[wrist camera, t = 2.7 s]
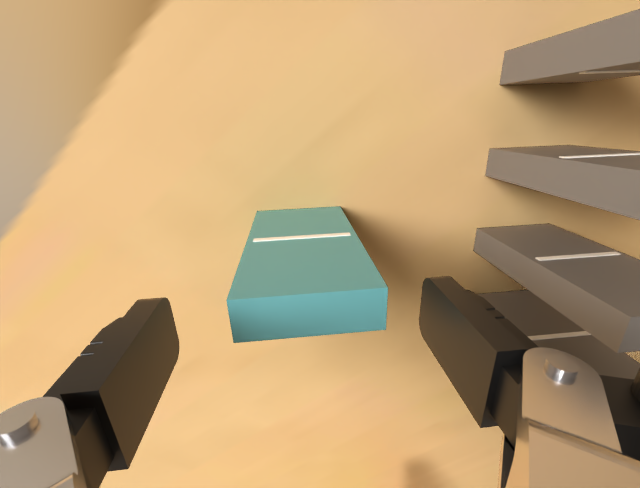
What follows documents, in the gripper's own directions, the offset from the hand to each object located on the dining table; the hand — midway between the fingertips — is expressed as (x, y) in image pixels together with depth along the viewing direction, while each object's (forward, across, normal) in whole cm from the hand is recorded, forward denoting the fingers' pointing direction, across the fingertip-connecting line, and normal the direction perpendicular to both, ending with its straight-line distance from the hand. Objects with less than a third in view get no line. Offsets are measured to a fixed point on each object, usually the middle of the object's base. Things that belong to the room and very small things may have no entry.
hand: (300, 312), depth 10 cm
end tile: (+10, 0, 0) cm, 10 cm away
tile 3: (+10, -14, +2) cm, 18 cm away
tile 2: (+10, -14, -3) cm, 18 cm away
